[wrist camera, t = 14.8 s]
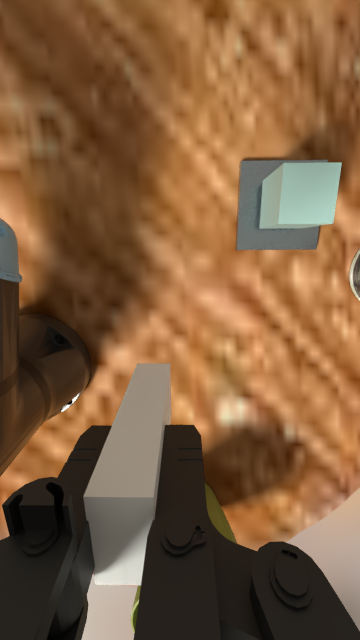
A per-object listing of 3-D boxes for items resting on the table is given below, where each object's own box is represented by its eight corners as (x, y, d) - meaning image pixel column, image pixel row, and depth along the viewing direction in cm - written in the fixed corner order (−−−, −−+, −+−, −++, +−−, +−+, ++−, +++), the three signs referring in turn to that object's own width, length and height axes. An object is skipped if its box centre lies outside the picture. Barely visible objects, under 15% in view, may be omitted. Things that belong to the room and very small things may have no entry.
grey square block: (235, 249, 34) (250, 250, 26) (239, 163, 31) (257, 136, 24) (313, 249, 34) (350, 249, 26) (324, 161, 31) (369, 134, 23)
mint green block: (259, 228, 31) (278, 224, 25) (262, 180, 30) (283, 163, 24) (302, 228, 31) (332, 223, 25) (308, 180, 30) (341, 162, 23)
